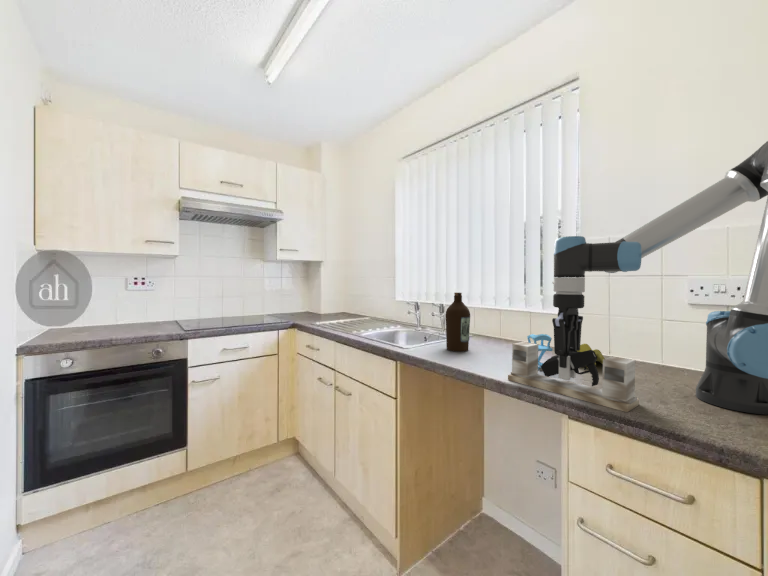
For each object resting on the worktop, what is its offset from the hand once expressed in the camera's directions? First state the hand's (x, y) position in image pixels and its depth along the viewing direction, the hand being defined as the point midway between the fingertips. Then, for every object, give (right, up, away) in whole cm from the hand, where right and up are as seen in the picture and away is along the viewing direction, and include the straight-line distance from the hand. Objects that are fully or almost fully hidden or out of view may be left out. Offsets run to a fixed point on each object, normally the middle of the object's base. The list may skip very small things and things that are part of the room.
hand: (567, 377), depth 92 cm
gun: (0, -1, 0) cm, 1 cm away
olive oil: (-18, -2, +54) cm, 57 cm away
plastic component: (+24, -3, +31) cm, 39 cm away
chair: (+4, -3, +26) cm, 27 cm away
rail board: (0, -4, 0) cm, 4 cm away
